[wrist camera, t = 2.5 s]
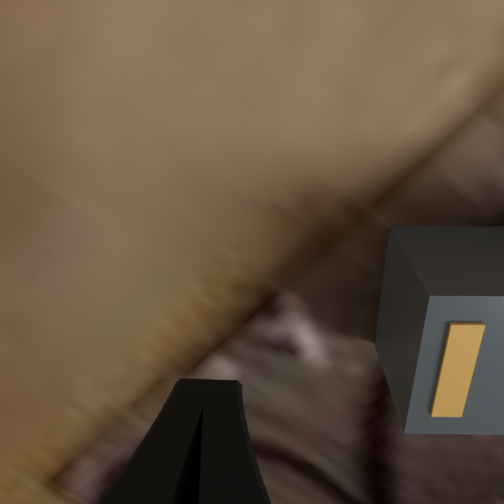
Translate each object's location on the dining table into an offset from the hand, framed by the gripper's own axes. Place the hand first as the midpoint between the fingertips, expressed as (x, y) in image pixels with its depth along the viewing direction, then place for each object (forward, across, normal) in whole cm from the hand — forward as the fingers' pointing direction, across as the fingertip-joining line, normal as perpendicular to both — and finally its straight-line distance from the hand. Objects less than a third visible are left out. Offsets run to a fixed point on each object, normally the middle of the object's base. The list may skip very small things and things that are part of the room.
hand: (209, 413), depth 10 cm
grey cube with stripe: (+6, -9, 0) cm, 11 cm away
